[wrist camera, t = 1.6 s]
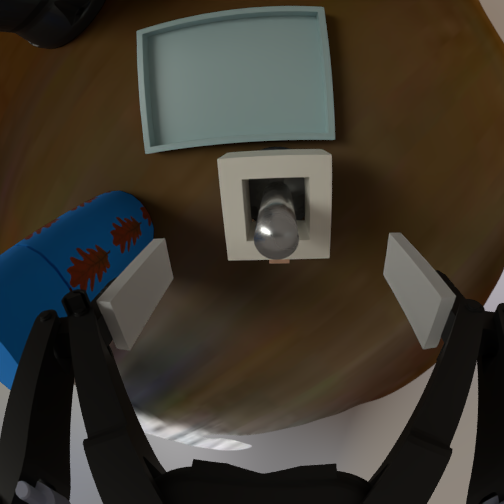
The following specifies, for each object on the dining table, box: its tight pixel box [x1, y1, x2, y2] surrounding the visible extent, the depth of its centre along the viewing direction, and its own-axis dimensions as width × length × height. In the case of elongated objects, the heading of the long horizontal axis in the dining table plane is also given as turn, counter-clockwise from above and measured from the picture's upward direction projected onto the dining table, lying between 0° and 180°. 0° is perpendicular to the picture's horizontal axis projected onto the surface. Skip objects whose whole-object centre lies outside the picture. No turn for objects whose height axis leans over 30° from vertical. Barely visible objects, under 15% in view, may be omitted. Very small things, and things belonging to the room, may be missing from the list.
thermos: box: [0, 191, 154, 390], centre depth 24 cm, size 11×11×25 cm
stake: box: [249, 147, 305, 260], centre depth 24 cm, size 9×9×15 cm
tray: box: [137, 6, 335, 154], centre depth 25 cm, size 15×20×2 cm
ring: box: [217, 149, 332, 264], centre depth 25 cm, size 11×9×5 cm
